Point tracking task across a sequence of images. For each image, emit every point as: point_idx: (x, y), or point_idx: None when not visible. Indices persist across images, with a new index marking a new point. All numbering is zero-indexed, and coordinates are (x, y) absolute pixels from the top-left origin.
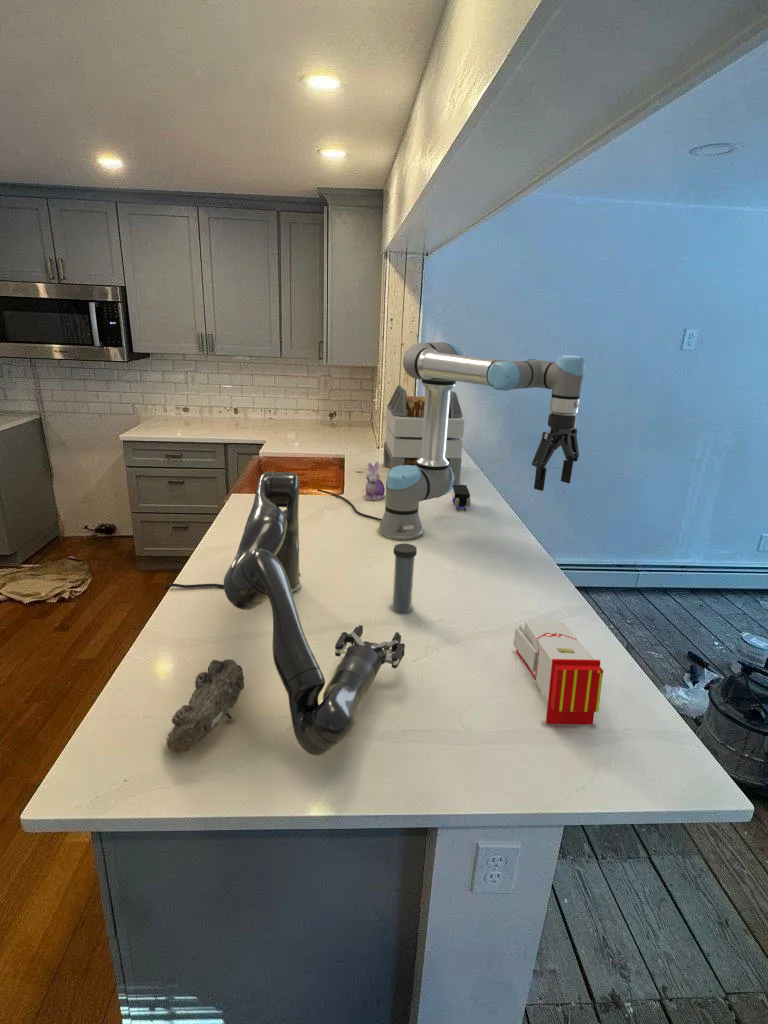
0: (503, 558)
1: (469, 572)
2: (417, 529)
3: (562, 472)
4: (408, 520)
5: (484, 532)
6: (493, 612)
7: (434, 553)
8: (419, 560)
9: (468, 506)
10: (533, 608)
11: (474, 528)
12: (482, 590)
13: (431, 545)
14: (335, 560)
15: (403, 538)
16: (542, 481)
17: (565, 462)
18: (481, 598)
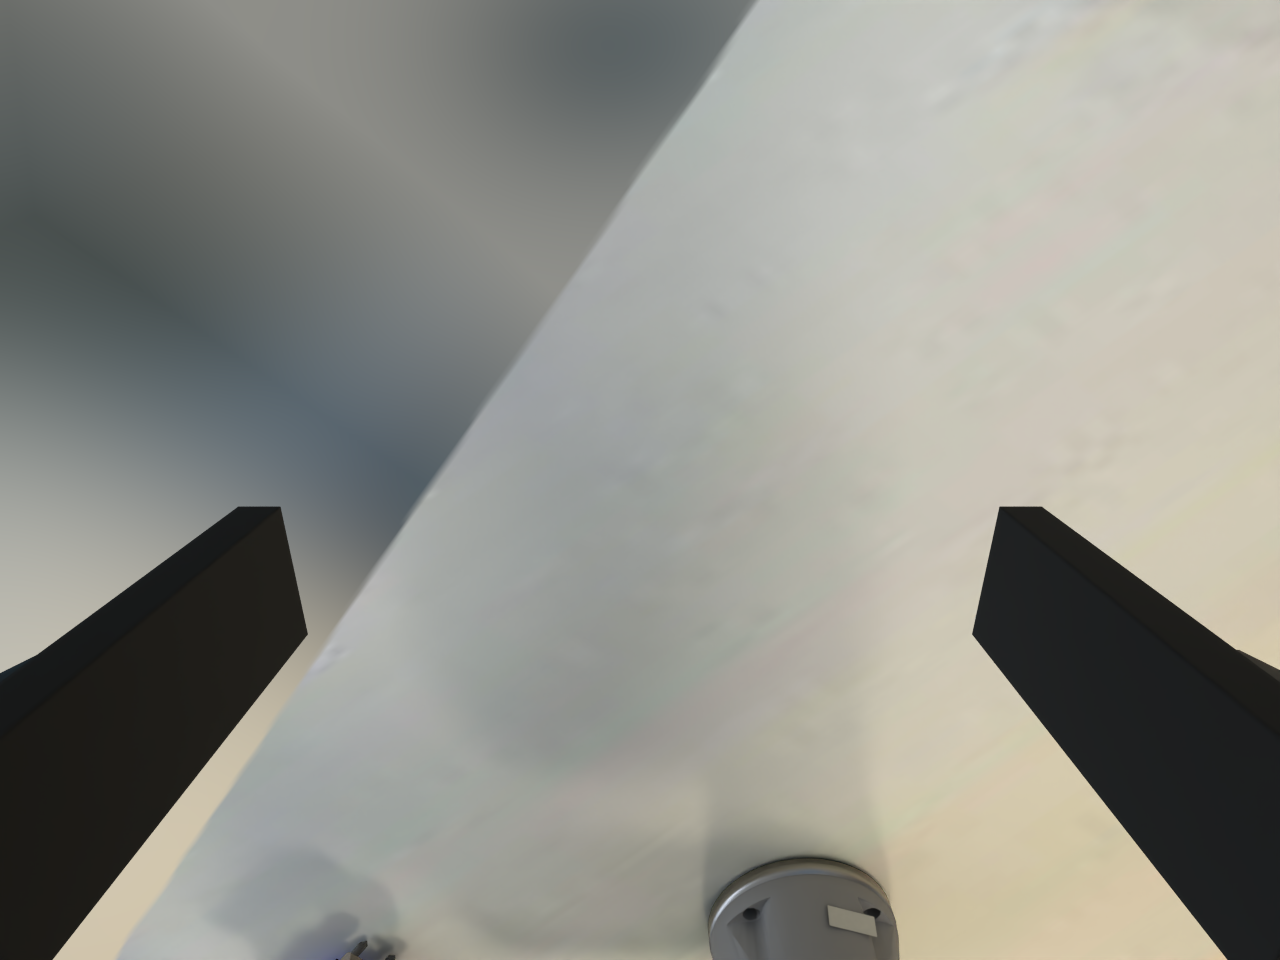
0: (651, 536)
1: (917, 530)
2: (798, 897)
3: (225, 727)
4: (853, 958)
5: (479, 760)
6: (1224, 190)
7: (865, 732)
8: (975, 720)
9: (354, 955)
10: (1046, 79)
11: (484, 807)
12: (1044, 375)
13: (804, 787)
14: None
15: (862, 877)
16: (1145, 599)
17: (47, 902)
18: (1125, 324)
